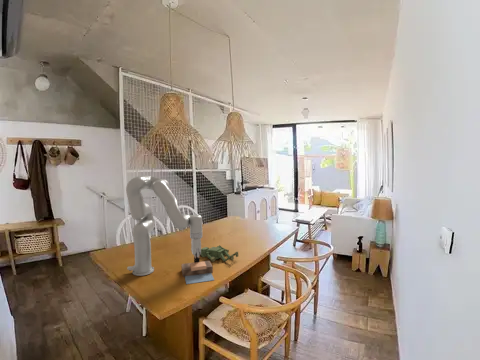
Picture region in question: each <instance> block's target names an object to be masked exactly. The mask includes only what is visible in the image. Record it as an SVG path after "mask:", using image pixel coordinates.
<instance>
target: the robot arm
mask: <svg viewBox="0 0 480 360" xmlns="http://www.w3.org/2000/svg"><path fill="white" fill-rule="evenodd" d="M170 187H171V186H170V183H169V181H168V180H166V179H163V178H160V177H156V176H151V175H144V174H143V175H138V176H135V177H133V178H131V179H130V180H129V181H128V183H127V184H126V187H125V190H126V197H127V201H128V205H129V210H130V216H131V218H132V219H133V220H135V221H138V222H137V223H136V224H135V225H134V226H133V228H132V237H133V245H134V247H133V248H134V265H133V266H129V265H128V266H127V270H128V271H129V272H131V271H132V275H134V276H138V277H139V276H141V277H144V276H146V275H150V274H152V273H153V272H154V271H155V267H154V266H152V244H151V237H150V234H151V233H152V232H153V231H154V229H155V227H156V225H155V220H154V215H153V210H152V207H151V205H149V204H148V203H147V202H145V201H144V196H143V194H142V192H141V191H142V190H145V189H146V190H150V191H151V190H152V191H153V193H154V194H155V195H156V198H158V199H159V201H160V202H161V204H162V205H163V207H164V209H165V212H166V214H167V217H168V219H169V220H170V221H171V222H172V224H173V225H174V227H175V228H176V229H178V230H180V231H181V230H186V228H188V227H189V238H190V239H191V240H190V241H191V247H190V248H191V250H190V251H191V254H192V255H193V263H197V262H201V260H200V258H201V257H200V255H199V254H201V249H202V238H203V217H202V215H200V214H193V215H191V214H185V213H183V214H182V212H181V210H180V209H179V207H178V200H177V198H176V196H175V195H174V193H173V192H172V190H171V189H170Z"/></svg>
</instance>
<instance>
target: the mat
mask: <svg viewBox="0 0 480 360" xmlns="http://www.w3.org/2000/svg"><path fill="white" fill-rule="evenodd" d="M184 279H185V284H186V285H190V284H197V283H198V284H199V283H206V282H211V281H213V282H214V281H215V278H214V276H213V273H205V274H198V275H190V276H185V277H184Z"/></svg>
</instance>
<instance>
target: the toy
mask: <svg viewBox="0 0 480 360" xmlns="http://www.w3.org/2000/svg"><path fill="white" fill-rule="evenodd" d="M229 253H230V249H226V248H224V247H223V246H222V245H218V246H212V247H210V248H209V247H207V246H205V247H201V254H199V256H200V258H207V259H210V260H209V261H210V262H212V263H213V262H215V261H216V260H218V259H221V261H222V262H224V263H226V262H227V261H228V260H231V261H234V260H235V258H234V257H236V258H237V257H239V251H235V252H234V253H232V254H231V255H230V254H229ZM225 257H227V258H225Z"/></svg>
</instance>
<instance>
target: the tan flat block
mask: <svg viewBox="0 0 480 360" xmlns="http://www.w3.org/2000/svg"><path fill="white" fill-rule="evenodd" d="M189 263H190V268H191V271H195V270H202V269H206V264H205V262H202V261H200V262H197V263H194V262H189Z"/></svg>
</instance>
